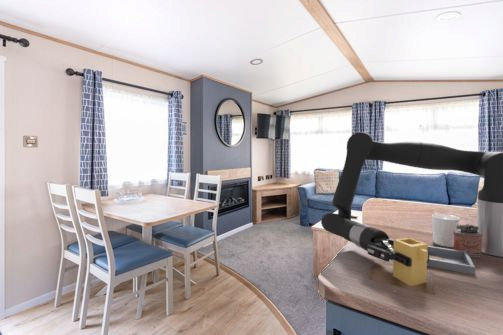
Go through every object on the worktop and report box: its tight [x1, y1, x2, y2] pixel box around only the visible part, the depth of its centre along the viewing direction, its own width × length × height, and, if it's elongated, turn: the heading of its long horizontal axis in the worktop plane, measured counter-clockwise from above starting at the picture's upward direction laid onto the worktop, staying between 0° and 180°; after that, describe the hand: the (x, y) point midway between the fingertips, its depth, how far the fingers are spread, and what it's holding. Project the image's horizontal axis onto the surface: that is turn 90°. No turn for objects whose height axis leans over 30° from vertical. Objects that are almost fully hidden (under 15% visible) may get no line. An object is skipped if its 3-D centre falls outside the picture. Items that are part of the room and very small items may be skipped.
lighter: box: [453, 223, 483, 258], centre depth 79 cm, size 8×3×10 cm, turn 84°
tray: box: [427, 245, 476, 276], centre depth 73 cm, size 12×12×3 cm
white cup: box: [431, 213, 461, 248], centre depth 89 cm, size 8×8×10 cm
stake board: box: [368, 244, 436, 295], centre depth 65 cm, size 14×11×10 cm
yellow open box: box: [392, 236, 429, 286], centre depth 63 cm, size 7×5×10 cm
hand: (419, 260), depth 61 cm, fingers closed on yellow open box, 5 cm apart
